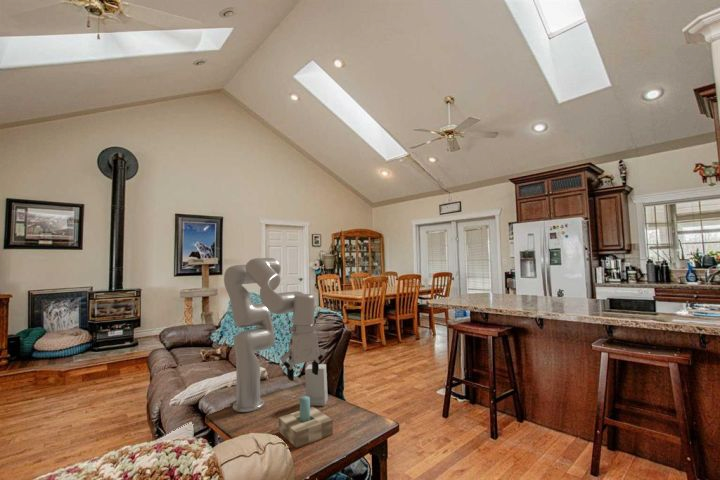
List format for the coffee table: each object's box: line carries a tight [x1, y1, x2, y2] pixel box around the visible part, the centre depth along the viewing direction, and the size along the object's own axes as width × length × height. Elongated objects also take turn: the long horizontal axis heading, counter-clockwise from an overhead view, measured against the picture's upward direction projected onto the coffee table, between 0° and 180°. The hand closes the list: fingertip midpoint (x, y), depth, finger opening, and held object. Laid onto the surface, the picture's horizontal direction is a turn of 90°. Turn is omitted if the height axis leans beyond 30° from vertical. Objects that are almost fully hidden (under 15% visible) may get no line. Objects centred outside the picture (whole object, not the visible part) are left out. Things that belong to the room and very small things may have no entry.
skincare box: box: [304, 363, 329, 407], centre depth 149 cm, size 8×7×16 cm
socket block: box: [278, 406, 334, 449], centre depth 123 cm, size 14×14×5 cm
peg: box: [299, 395, 311, 423], centre depth 123 cm, size 4×4×12 cm
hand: (303, 376), depth 124 cm, fingers open, 9 cm apart
